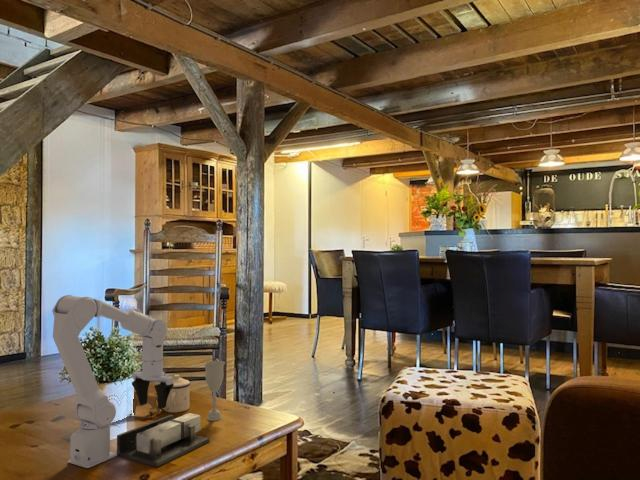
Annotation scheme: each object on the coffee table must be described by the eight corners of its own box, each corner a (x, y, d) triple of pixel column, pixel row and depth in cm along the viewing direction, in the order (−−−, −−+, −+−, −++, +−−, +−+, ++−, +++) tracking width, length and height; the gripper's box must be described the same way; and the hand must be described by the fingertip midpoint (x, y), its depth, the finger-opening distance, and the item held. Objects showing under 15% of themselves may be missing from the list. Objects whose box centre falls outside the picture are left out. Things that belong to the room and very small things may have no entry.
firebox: (157, 467, 135) (157, 445, 135) (116, 455, 143) (117, 435, 143) (209, 441, 153) (209, 422, 153) (171, 432, 160) (171, 414, 160)
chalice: (222, 421, 170) (222, 365, 170) (201, 421, 170) (201, 365, 170) (226, 414, 177) (227, 360, 178) (206, 414, 177) (206, 360, 178)
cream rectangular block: (148, 453, 139) (148, 436, 139) (136, 450, 141) (136, 433, 141) (200, 430, 157) (200, 415, 157) (189, 427, 159) (189, 412, 159)
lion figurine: (118, 419, 173) (118, 391, 173) (119, 414, 178) (119, 387, 178) (165, 414, 178) (165, 387, 178) (164, 409, 183) (164, 383, 183)
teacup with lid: (165, 405, 188) (166, 372, 188) (192, 404, 188) (192, 371, 188) (158, 416, 176) (158, 381, 176) (186, 415, 176) (186, 380, 176)
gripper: (180, 359, 156) (180, 406, 156) (145, 354, 163) (145, 399, 163) (163, 364, 150) (162, 412, 149) (127, 359, 157) (126, 405, 156)
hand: (152, 406), depth 156 cm, fingers open, 7 cm apart
